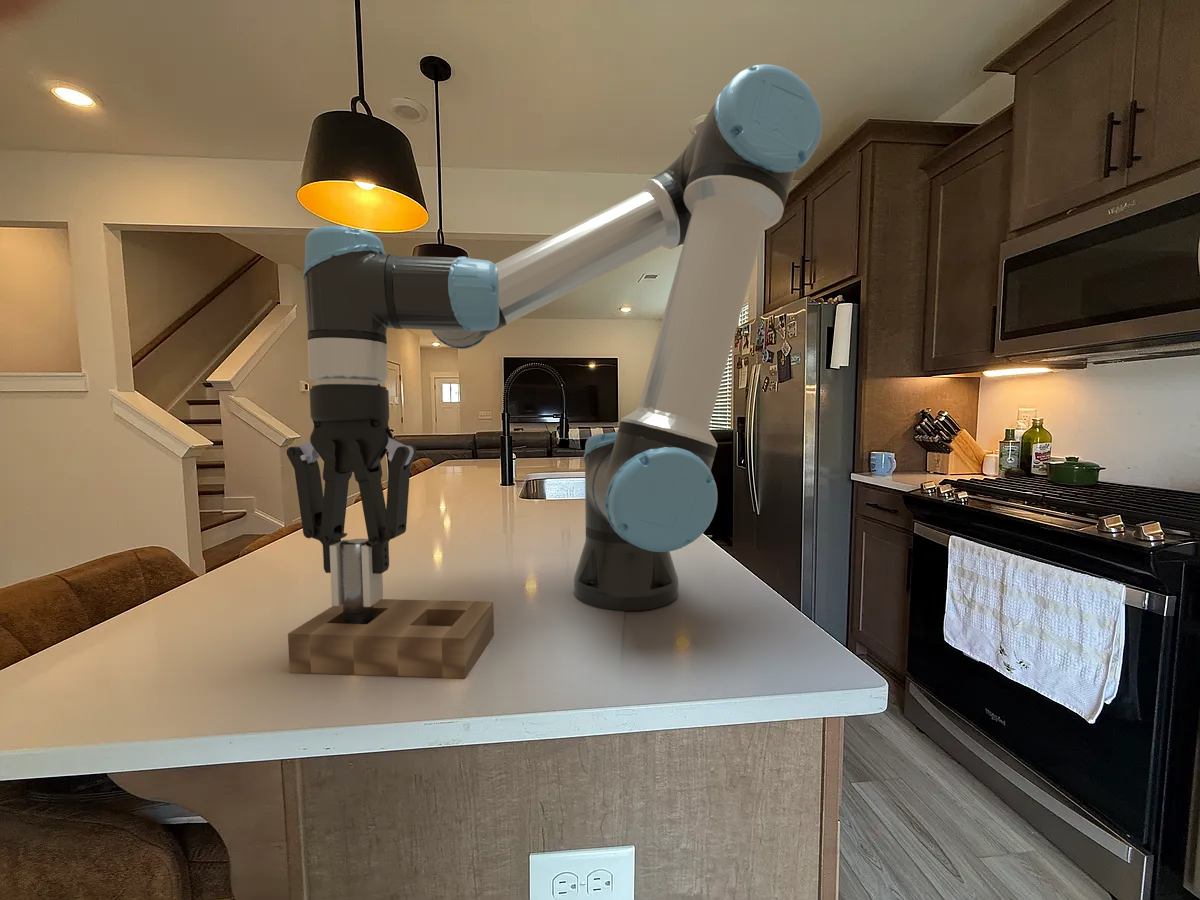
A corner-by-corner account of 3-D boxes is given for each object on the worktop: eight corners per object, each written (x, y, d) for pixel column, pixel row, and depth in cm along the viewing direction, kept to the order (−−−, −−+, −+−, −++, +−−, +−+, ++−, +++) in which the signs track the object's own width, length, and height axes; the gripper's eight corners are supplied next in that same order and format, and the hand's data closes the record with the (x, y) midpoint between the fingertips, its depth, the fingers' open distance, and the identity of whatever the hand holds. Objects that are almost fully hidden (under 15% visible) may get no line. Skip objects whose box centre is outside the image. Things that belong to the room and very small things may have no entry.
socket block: (493, 635, 60) (493, 601, 60) (464, 678, 50) (464, 638, 50) (346, 631, 61) (345, 598, 61) (289, 672, 51) (287, 633, 51)
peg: (379, 627, 57) (376, 538, 57) (365, 638, 54) (361, 545, 54) (353, 626, 58) (350, 538, 57) (337, 637, 55) (334, 545, 54)
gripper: (436, 385, 57) (442, 591, 59) (301, 387, 59) (310, 588, 60) (406, 380, 50) (413, 617, 51) (252, 382, 51) (263, 613, 53)
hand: (358, 601), depth 56 cm, fingers closed on peg, 3 cm apart
